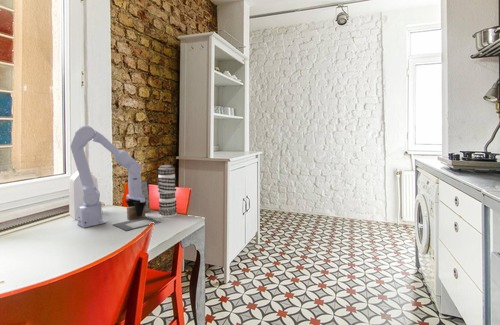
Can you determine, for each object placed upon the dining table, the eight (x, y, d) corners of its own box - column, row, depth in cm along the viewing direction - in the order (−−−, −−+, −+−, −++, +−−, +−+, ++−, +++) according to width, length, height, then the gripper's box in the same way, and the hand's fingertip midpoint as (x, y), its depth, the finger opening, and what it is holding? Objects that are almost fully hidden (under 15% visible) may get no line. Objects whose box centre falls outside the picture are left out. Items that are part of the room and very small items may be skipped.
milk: (69, 215, 149) (65, 164, 147) (94, 211, 156) (91, 162, 154) (74, 219, 140) (71, 165, 138) (100, 215, 148) (97, 164, 145)
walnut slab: (129, 220, 138) (128, 208, 137) (127, 219, 139) (126, 207, 139) (145, 217, 144) (144, 205, 143) (143, 216, 145) (142, 204, 145)
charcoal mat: (126, 231, 122) (126, 230, 122) (112, 225, 130) (112, 224, 130) (160, 222, 134) (160, 221, 134) (145, 217, 142) (145, 216, 142)
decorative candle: (155, 217, 143) (152, 166, 141) (163, 212, 152) (162, 164, 150) (172, 217, 141) (170, 166, 139) (180, 213, 150) (178, 164, 148)
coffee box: (150, 210, 156) (149, 180, 154) (140, 213, 150) (138, 182, 149) (139, 208, 160) (138, 179, 159) (129, 211, 155) (127, 181, 154)
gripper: (150, 187, 138) (151, 215, 139) (135, 184, 148) (136, 210, 149) (136, 189, 133) (137, 218, 134) (121, 186, 143) (123, 213, 144)
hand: (136, 214), depth 141 cm, fingers open, 6 cm apart
